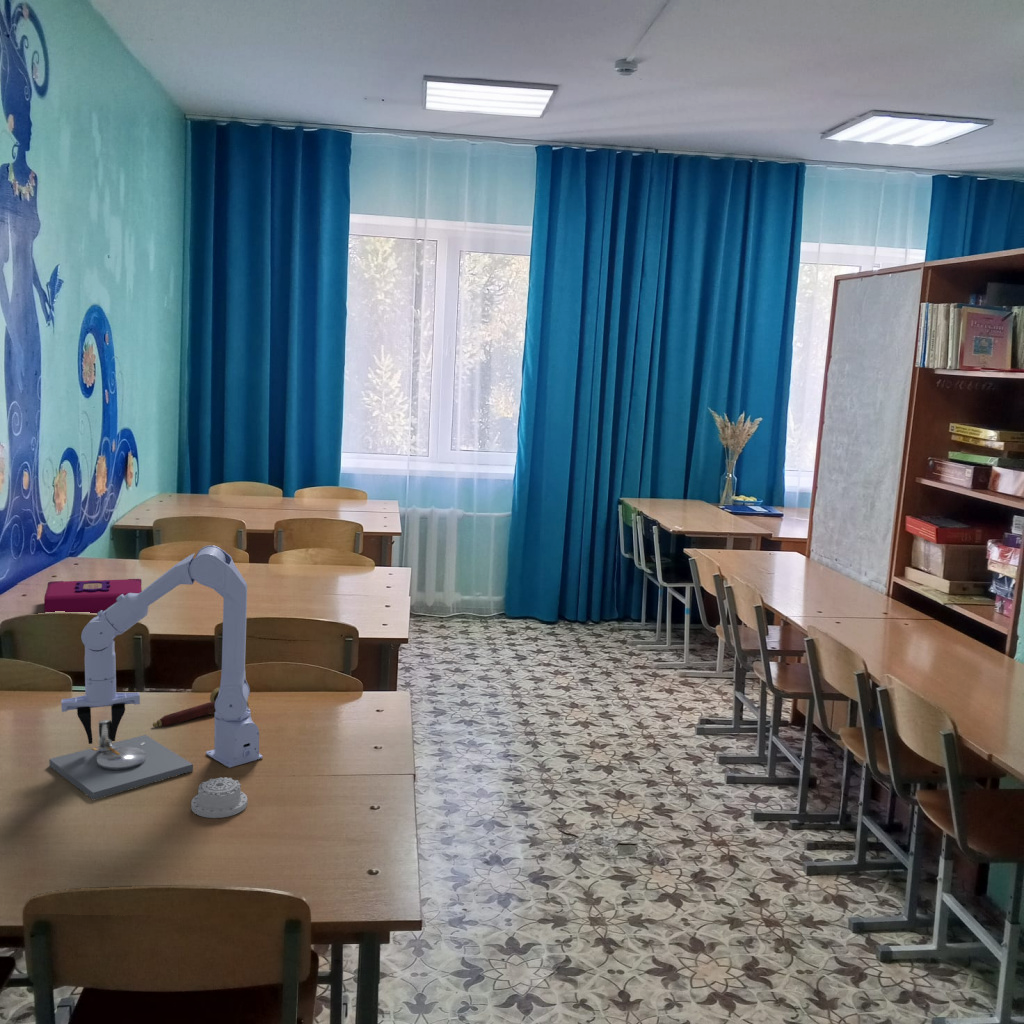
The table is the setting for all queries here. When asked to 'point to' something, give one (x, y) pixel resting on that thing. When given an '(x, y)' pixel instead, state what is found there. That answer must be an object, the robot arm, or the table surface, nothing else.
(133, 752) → the dial
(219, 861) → the table surface
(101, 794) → the dial plate
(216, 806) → the mechanical component
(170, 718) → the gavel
